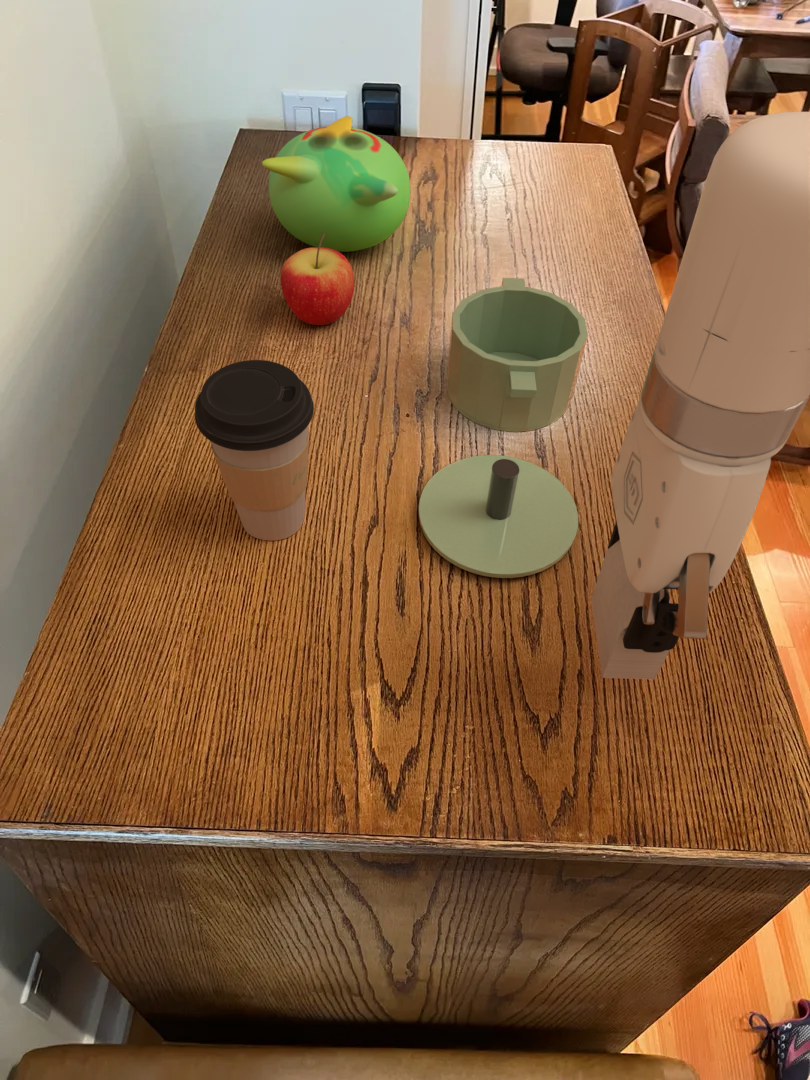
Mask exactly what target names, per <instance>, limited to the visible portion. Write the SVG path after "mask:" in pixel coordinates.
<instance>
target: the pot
mask: <svg viewBox="0 0 810 1080" xmlns="http://www.w3.org/2000/svg"><path fill="white" fill-rule="evenodd" d="M450 323H451V324H450V325H451V326H450V336H449V349H448V359H447V370H446V371H447V373H446V392H447V396H448V399H449V400H450V402H451V404H452V405H453V407H454V408H455V409H456V410H457V411H458V412H459V413H460V414H461V415H463V416H464V417H465V418H467V420H470V421H472V422H473V423H475V424H478V425H480V426H483V427H484V428H488V429H491V430H495V431H502V432H512V433H514V432H515V433H517V432H520V433H521V432H530V431H536V430H539V429H542V428H545V427H548V426H550V425H552V424H553V423H556V421H558V420H559V419H561V418H562V416H563V415H564V414H565V413H566V412H567V411H568V409H569V407H570V405H571V401H572V399H573V397H574V394H575V389H576V385H577V381H578V377H579V373H580V368H581V366H582V365H581V364H582V361H583V357H584V352H585V349H586V345H587V341H588V340H587V339H588V336H589V331H588V328H587V327H588V326H587V323H586V318H585V317H584V316H583V315H582V313H580V311H579V310H578V309H577V308H576V307H575V306H574V305H573V304H572V303H571V302H569V301H567V300H566V299H563V298H562V297H560V296H558V295H556V294H554V293H553V292H549V291H546V290H542V289H538V288H534V287H531V286H526V282H525V278H522V277H521V278H518V277H502V278H501V285H500V286H495V287H489V288H485V289H480V290H478V291H476V292H474V293H472V294H470V295H468V296H466V297H464V298H463V299H461V300H460V302H459V304H458V305H457V306H456V307H455V308H454V310H453V312H452V313H451V322H450Z"/></svg>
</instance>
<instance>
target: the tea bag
mask: <svg viewBox="0 0 810 1080" xmlns="http://www.w3.org/2000/svg"><path fill="white" fill-rule="evenodd" d="M669 590H670V589H661V593H660V599H659V603H672V600H671V594H670V591H669ZM644 596H645V593H644V592H643V593H642V592H638V591H637V590H636V589H635V588H634V587H633V586H632V584H631V583H630V581H629V579H628V576H627V572H626V568H625V563H624V558H623V553H622V547H621V542H620V540H618V541H617V542H616V543H615V544H614V545H613V546H611V547H610V548H609V549H608V548H607V550H606V552H605V555H604V558H603V561H602V564H601V567H600V570H599V573H598V577H597V579H596V583H595V586H594V589H593V592H592V595H591V598H590V603H591V608H592V615H593V622H594V630H595V637H596V644H597V651H598V657H599V665H600V671H601V672H600V673H601V678H602V679H625V680H626V679H627V680H653V681H654V680H656V679H657V677H658V675H659V673H660V671H661V669H662V667H663V665H664V662H665V661H666V659H667V658H668V655H669V653H670V652H671V650H665V651H663V652H659V653H649V652H645V651H643V650H641V649H626V648H624V644H623V638H624V635H625V633H626V631H627V628H628V626H629V623H630V621H631V618H632V616H633V613H634V611H635V609H636V607H639V606H643V602H644Z"/></svg>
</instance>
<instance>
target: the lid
mask: <svg viewBox="0 0 810 1080" xmlns="http://www.w3.org/2000/svg"><path fill="white" fill-rule="evenodd" d="M418 502H419V503H418V520H419V526H420V529H421V532H422V533H423V536H424V537H425V539H426V541H427V542H428V543H429V545H430V546H431V547H432V548H433V549H434V551H435V552H436V553H438V554H439V555H440V557H442V558H443V559H445V560H446V561H447V562H449V563H450V564H452V565H454V566H456V567H457V568H460V569H462V570H464V571H467V572H469V573H472V574H475V575H479V576H483V577H488V578H495V579H496V578H497V579H514V578H523V577H526V576H531V575H532V576H533V575H534V574H538V573H540V572H543V571H546V570H548V569H549V568H551V567H553V566H554V565H556V564H557V563H558V562H559V561H561V560H562V558H564V557H565V556H566V555H567V553H568V552H569V551H570V549H571V548H572V546H573V544H574V542H575V540H576V536H577V533H578V528H579V513H578V508H577V505H576V502H575V499H574V497H573V496H572V494H571V493H570V491H569V490H568V489H567V487H566V486H565V485H564V484H563V483H562V482H561V481H560V480H559V478H557V476H555V475H553V474H552V473H551V472H549V471H547V469H545V468H543V467H541V466H539V465H537V464H535V463H533V462H530V461H527V460H525V459H521V458H518V457H513V456H510V455H509V456H508V455H500V454H482V455H474V456H469V457H464V458H461V459H459V460H456V461H453V462H451V463H449V464H447V465H446V466H444V467H442V468H441V469H439V470H438V471H437V472H435V474H434V475H432V476H431V477H430V478H429V480H428V481H427V483H426V484H425V485H424V487H423V489H422V492H421V494H420V497H419V501H418Z"/></svg>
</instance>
